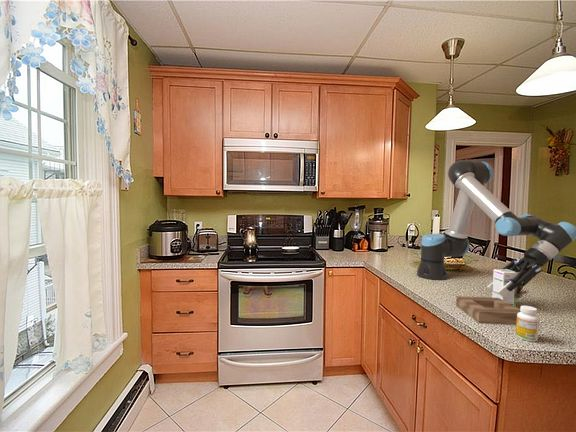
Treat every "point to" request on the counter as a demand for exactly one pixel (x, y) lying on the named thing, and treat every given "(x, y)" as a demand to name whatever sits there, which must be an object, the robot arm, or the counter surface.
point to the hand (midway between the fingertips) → (494, 291)
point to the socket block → (488, 309)
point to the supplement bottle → (527, 324)
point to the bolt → (519, 289)
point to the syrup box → (501, 280)
